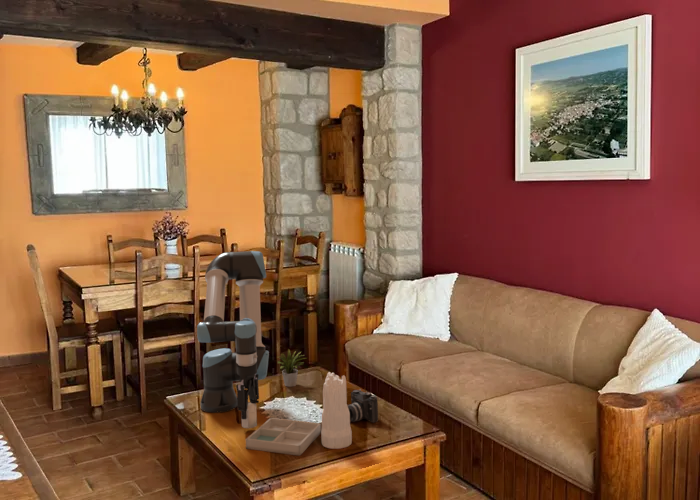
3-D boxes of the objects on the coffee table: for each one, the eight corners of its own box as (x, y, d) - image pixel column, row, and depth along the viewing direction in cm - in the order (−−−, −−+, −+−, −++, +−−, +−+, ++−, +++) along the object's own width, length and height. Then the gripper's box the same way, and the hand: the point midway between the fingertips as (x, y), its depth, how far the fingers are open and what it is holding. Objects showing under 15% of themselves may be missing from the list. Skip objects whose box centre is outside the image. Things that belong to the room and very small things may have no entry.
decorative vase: (355, 446, 234) (353, 377, 231) (325, 450, 231) (323, 380, 228) (346, 434, 244) (345, 368, 241) (318, 438, 241) (316, 371, 238)
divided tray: (246, 448, 234) (245, 439, 233) (270, 426, 253) (270, 417, 252) (299, 455, 227) (299, 445, 227) (321, 432, 246) (321, 423, 246)
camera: (336, 416, 262) (336, 392, 260) (358, 410, 268) (358, 386, 267) (358, 427, 250) (358, 402, 249) (381, 420, 257) (381, 395, 255)
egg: (239, 427, 247) (238, 404, 246) (246, 421, 253) (245, 399, 251) (252, 429, 246) (251, 406, 244) (259, 423, 251) (258, 401, 250)
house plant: (292, 393, 289) (290, 356, 287) (267, 387, 297) (266, 352, 294) (311, 383, 301) (310, 348, 299) (287, 378, 308) (286, 344, 306)
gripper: (244, 372, 236) (247, 434, 239) (266, 356, 253) (269, 414, 256) (225, 370, 238) (228, 432, 242) (249, 355, 255) (251, 412, 259)
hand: (249, 423), depth 249 cm, fingers closed on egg, 5 cm apart
